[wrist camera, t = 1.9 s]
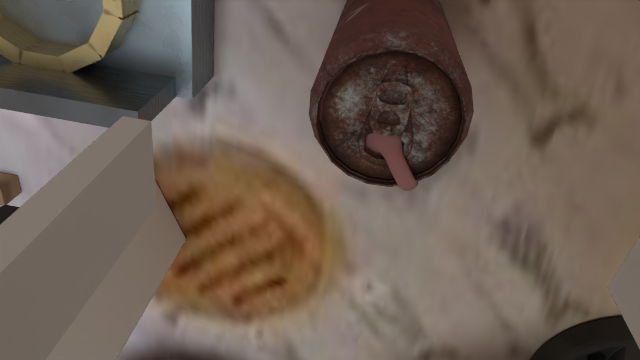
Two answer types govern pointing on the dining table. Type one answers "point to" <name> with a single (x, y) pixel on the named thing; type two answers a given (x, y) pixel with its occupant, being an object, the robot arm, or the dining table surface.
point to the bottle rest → (8, 188)
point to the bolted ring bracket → (103, 56)
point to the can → (391, 93)
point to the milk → (124, 290)
